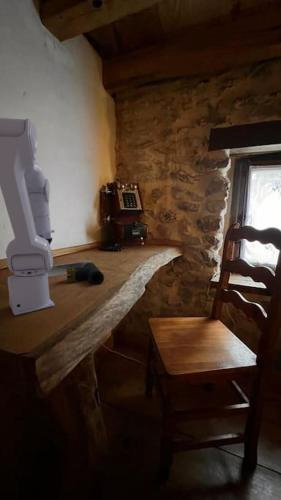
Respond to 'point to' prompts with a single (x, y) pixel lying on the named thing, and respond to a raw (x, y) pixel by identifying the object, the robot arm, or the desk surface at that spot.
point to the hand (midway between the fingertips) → (43, 259)
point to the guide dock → (64, 268)
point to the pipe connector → (85, 274)
